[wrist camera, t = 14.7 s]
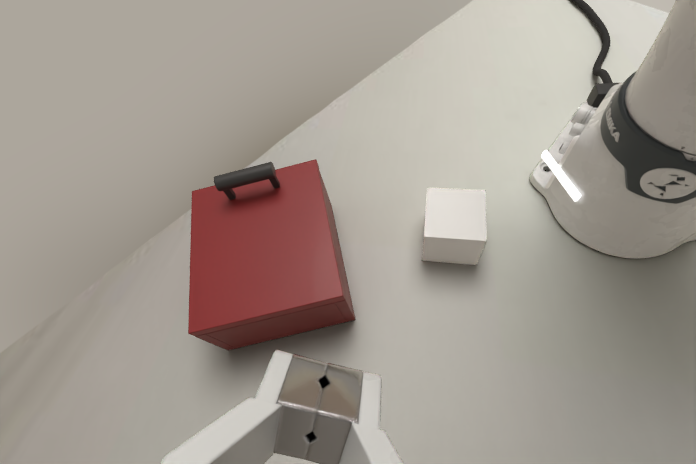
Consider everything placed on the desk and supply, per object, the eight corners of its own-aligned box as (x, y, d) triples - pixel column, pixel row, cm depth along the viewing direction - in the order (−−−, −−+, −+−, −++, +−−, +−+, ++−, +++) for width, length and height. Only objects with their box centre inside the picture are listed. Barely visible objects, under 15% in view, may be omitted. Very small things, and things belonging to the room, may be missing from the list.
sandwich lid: (197, 196, 42) (174, 172, 38) (318, 165, 41) (308, 137, 37) (194, 336, 34) (165, 324, 30) (345, 300, 33) (336, 282, 29)
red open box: (224, 231, 47) (197, 202, 41) (331, 204, 47) (319, 171, 41) (227, 350, 40) (195, 336, 34) (355, 320, 39) (345, 300, 33)
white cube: (425, 215, 44) (427, 187, 39) (476, 218, 43) (485, 189, 38) (421, 260, 41) (423, 236, 36) (476, 265, 40) (486, 240, 35)
